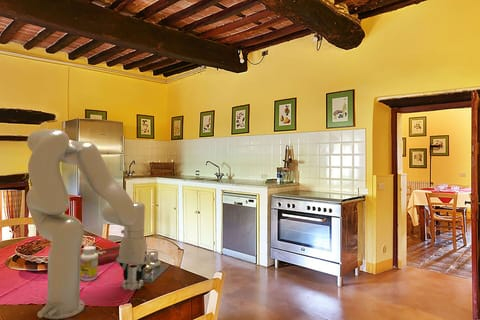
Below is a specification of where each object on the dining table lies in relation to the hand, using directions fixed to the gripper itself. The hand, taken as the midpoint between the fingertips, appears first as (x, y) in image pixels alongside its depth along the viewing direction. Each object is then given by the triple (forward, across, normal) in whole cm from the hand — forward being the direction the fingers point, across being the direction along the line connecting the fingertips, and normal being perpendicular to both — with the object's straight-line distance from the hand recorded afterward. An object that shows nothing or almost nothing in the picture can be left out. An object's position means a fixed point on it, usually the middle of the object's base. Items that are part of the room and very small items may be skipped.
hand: (132, 279), depth 133 cm
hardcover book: (+4, -26, +29) cm, 39 cm away
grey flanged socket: (+3, 0, 0) cm, 3 cm away
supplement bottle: (+3, -21, +4) cm, 22 cm away
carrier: (+3, 0, +14) cm, 15 cm away
